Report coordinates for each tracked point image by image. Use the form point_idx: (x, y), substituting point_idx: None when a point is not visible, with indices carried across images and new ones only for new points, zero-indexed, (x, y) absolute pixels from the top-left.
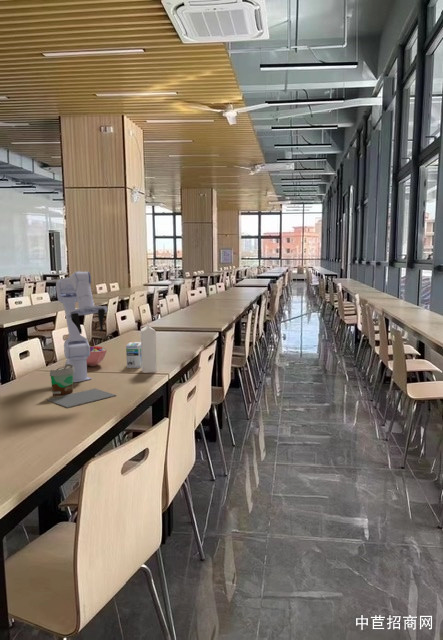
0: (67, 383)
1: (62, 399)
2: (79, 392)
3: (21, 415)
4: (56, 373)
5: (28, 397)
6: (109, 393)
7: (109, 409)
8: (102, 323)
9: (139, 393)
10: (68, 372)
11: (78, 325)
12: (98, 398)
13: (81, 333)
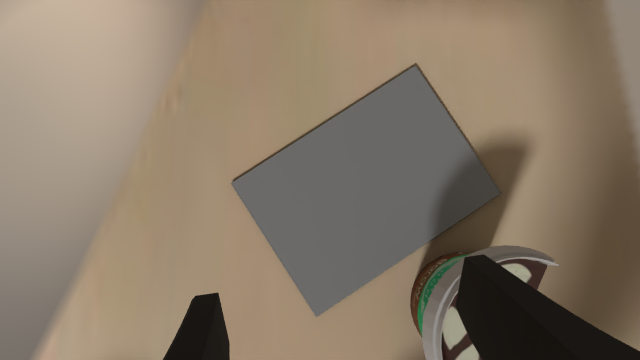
0: (442, 268)
1: (441, 174)
2: (381, 264)
3: (561, 25)
4: (515, 249)
5: (578, 258)
6: (256, 213)
7: (263, 11)
8: (170, 348)
9: (133, 198)
10: (454, 270)
11: (545, 300)
12: (302, 149)
13: (458, 300)
